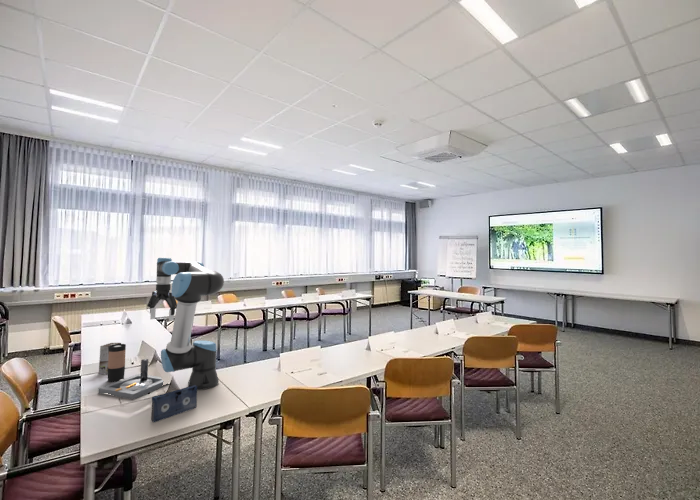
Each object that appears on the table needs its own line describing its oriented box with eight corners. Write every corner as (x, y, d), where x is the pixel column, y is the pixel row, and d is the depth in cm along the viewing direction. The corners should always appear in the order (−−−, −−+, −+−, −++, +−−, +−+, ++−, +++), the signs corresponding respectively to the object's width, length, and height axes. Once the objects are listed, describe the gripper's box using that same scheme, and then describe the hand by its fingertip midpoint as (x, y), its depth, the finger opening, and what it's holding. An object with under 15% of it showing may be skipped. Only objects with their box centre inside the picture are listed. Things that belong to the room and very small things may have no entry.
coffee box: (109, 374, 190) (110, 346, 190) (98, 374, 190) (99, 346, 190) (120, 369, 199) (121, 342, 199) (110, 368, 199) (111, 342, 199)
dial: (133, 381, 174) (134, 358, 175) (158, 382, 174) (159, 359, 174) (112, 391, 160) (113, 366, 161) (139, 393, 159) (140, 368, 160)
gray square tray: (170, 385, 174) (171, 377, 175) (133, 402, 153) (133, 393, 153) (138, 380, 180) (138, 372, 181) (98, 396, 159) (98, 387, 159)
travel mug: (104, 383, 176) (105, 346, 176) (119, 379, 182) (121, 343, 183) (111, 386, 172) (113, 348, 173) (127, 381, 179) (128, 344, 180)
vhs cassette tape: (194, 406, 151) (195, 384, 151) (197, 408, 149) (198, 386, 149) (150, 420, 137) (151, 396, 137) (153, 423, 135) (154, 398, 135)
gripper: (141, 283, 193) (139, 319, 192) (175, 284, 186) (174, 322, 186) (152, 282, 200) (150, 317, 200) (185, 284, 194) (184, 320, 193)
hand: (161, 319), depth 193 cm, fingers open, 13 cm apart
